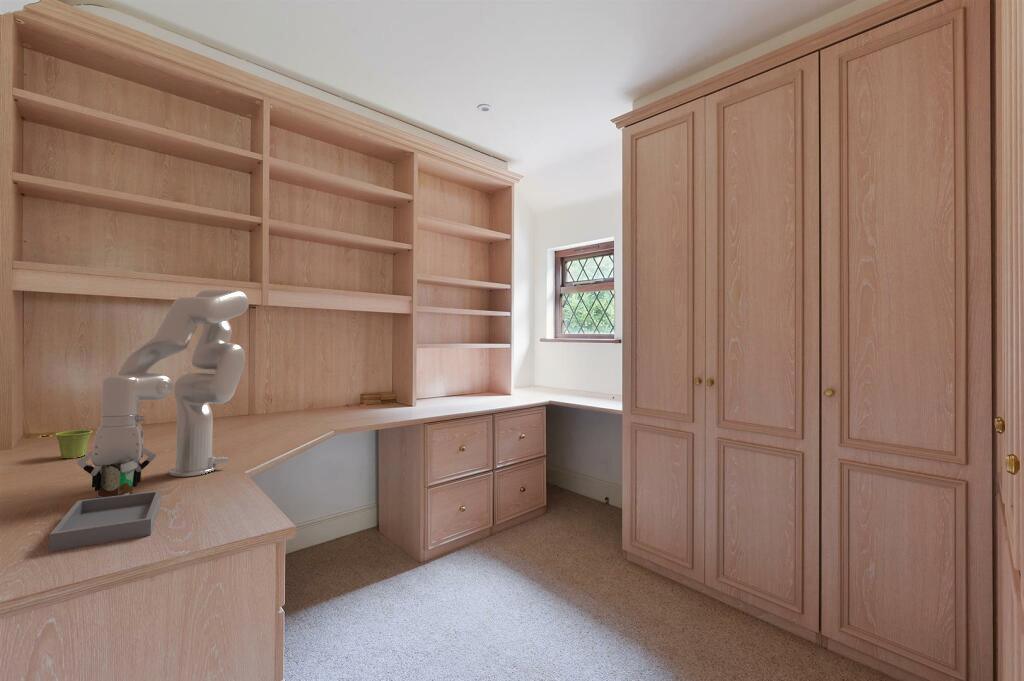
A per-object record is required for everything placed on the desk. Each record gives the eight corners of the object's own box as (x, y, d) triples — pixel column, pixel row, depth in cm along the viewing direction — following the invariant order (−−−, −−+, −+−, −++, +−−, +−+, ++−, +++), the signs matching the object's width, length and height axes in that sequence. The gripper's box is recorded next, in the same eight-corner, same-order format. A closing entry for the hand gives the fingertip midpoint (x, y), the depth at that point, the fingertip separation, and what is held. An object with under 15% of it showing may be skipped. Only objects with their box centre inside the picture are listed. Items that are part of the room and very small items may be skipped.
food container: (147, 495, 124) (148, 459, 124) (121, 503, 119) (122, 464, 119) (121, 489, 129) (121, 453, 129) (94, 495, 123) (95, 458, 123)
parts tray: (160, 503, 119) (161, 490, 119) (150, 535, 100) (151, 519, 100) (77, 515, 110) (77, 500, 110) (49, 551, 92) (49, 534, 92)
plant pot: (51, 457, 159) (52, 432, 159) (87, 452, 167) (88, 428, 167) (58, 462, 154) (59, 436, 154) (95, 456, 162) (95, 432, 162)
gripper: (161, 417, 131) (158, 479, 131) (79, 421, 122) (76, 488, 121) (158, 421, 125) (156, 486, 125) (72, 425, 115) (68, 496, 115)
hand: (116, 487), depth 123 cm, fingers closed on food container, 7 cm apart
